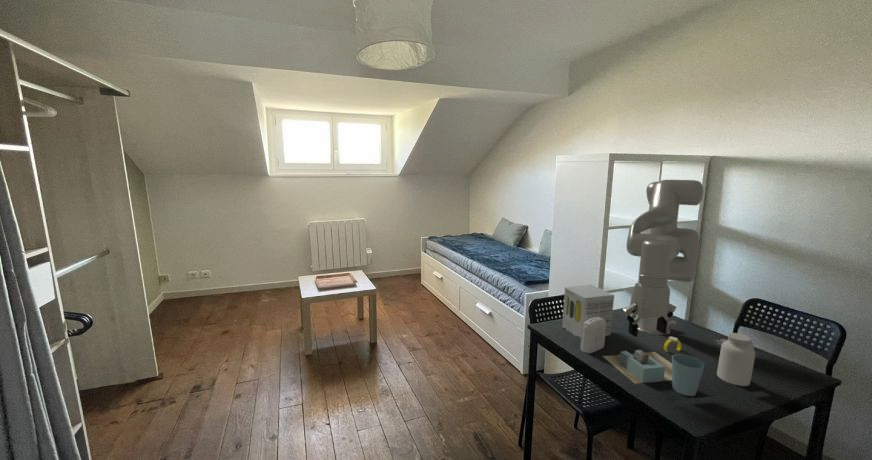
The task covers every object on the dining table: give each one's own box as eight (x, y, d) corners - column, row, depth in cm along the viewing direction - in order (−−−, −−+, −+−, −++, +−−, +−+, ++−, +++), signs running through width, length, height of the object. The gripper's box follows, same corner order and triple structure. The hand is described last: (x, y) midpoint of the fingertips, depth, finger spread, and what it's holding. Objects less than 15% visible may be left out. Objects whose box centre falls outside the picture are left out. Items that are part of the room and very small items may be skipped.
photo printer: (594, 344, 133) (597, 313, 131) (605, 349, 129) (608, 317, 127) (577, 352, 127) (580, 319, 125) (588, 357, 124) (591, 324, 122)
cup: (689, 386, 107) (694, 354, 106) (706, 402, 100) (710, 368, 98) (663, 384, 108) (666, 353, 106) (677, 401, 101) (681, 367, 99)
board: (654, 355, 126) (656, 334, 124) (693, 381, 110) (696, 358, 109) (602, 359, 123) (604, 338, 121) (634, 387, 107) (637, 363, 106)
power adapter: (712, 352, 127) (714, 337, 126) (709, 346, 132) (711, 332, 131) (752, 360, 122) (755, 344, 121) (748, 354, 127) (750, 338, 126)
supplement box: (561, 327, 148) (563, 286, 145) (588, 323, 151) (591, 284, 148) (582, 342, 135) (585, 298, 132) (611, 337, 138) (615, 294, 135)
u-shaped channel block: (663, 380, 108) (665, 366, 108) (642, 382, 107) (643, 368, 106) (639, 362, 118) (640, 349, 118) (619, 364, 117) (620, 351, 117)
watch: (667, 357, 125) (668, 341, 124) (661, 353, 128) (662, 337, 127) (682, 354, 126) (683, 339, 125) (676, 350, 128) (677, 335, 127)
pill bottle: (727, 388, 107) (734, 341, 104) (710, 373, 114) (717, 329, 112) (756, 390, 106) (764, 343, 103) (737, 375, 113) (745, 331, 111)
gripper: (668, 274, 112) (662, 325, 115) (618, 278, 109) (613, 330, 113) (688, 282, 105) (681, 336, 108) (635, 286, 102) (629, 341, 105)
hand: (646, 333), depth 110 cm, fingers open, 9 cm apart
